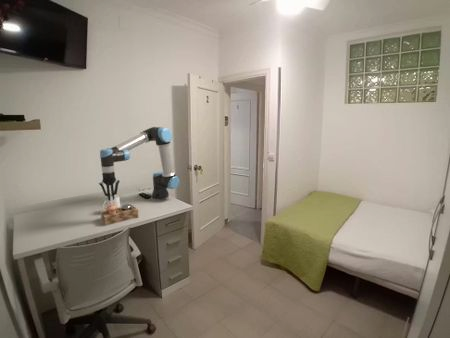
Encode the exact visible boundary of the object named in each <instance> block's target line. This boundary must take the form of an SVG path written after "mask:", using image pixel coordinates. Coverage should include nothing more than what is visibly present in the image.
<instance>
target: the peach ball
mask: <svg viewBox="0 0 450 338" xmlns="http://www.w3.org/2000/svg"><path fill="white" fill-rule="evenodd" d="M106 209H107V211H108V214H113V213H116V209H117V206H116V205H109V206H108V205H107V206H106Z"/></svg>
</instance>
